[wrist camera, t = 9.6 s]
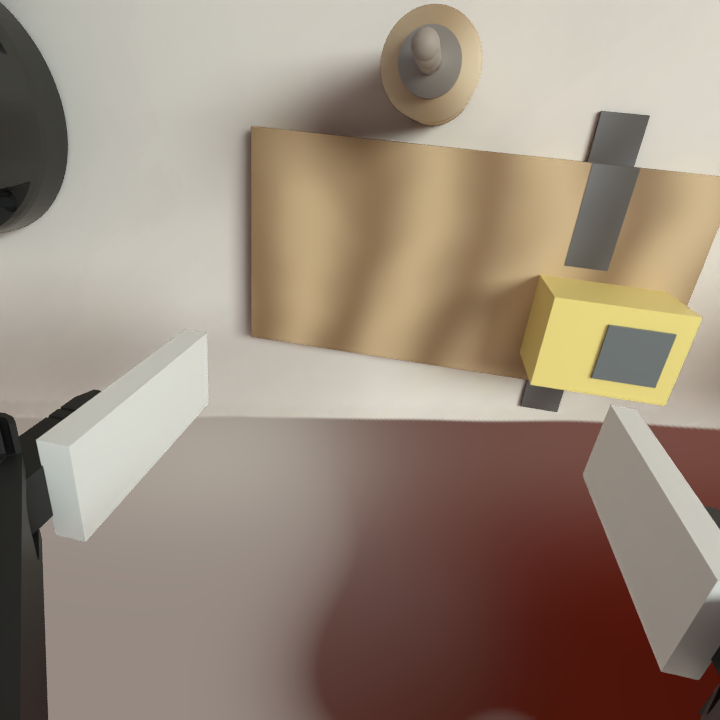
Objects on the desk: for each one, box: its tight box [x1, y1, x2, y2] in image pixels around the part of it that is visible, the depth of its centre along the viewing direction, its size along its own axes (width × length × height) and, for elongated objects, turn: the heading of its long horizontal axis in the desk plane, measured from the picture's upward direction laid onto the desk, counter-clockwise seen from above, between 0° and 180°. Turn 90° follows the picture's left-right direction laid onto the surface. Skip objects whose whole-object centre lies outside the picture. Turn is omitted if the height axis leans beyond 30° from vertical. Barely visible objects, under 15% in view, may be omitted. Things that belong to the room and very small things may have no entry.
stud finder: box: [520, 275, 702, 406], centre depth 27 cm, size 7×5×5 cm
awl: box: [380, 4, 482, 126], centre depth 21 cm, size 4×4×13 cm
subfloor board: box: [251, 111, 720, 412], centre depth 30 cm, size 26×18×1 cm
